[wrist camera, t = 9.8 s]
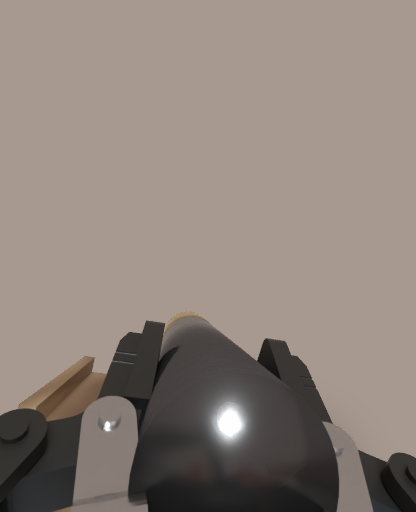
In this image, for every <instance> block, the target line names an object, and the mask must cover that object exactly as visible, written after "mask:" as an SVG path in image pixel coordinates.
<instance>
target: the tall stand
mask: <svg viewBox="0 0 416 512" xmlns="http://www.w3.org/2000/svg"><path fill="white" fill-rule="evenodd" d="M93 363H94V357H88V356H85V357H83V358H82V359H80V360H79V361H78V362H76V363H75V364H74V365H72V366H71V367H70V368H68V369H67V370H66V371H64V372H63V373H61V374H60V375H59V376H57V377H56V378H55V379H53V380H52V381H50V382H49V383H48V384H46V385H45V386H44V387H42V388H41V389H40V390H38V391H37V392H35V393H34V394H33V395H31V396H30V397H29V398H27V399H26V400H25V401H23V402H22V403H20V404H19V407H18V409H23V408H29V409H34V410H37V411H39V412H41V413H42V414H43V415H44V416H45V418H46V421H52V420H57V419H63V418H68V417H72V416H75V415H78V414H80V413H82V412H84V411H85V410H86V409H87V407H88V406H89V405H90V404H92V403H93V402H94V401H96V399H97V398H98V396H99V393H100V390H101V388H102V385H103V383H104V380H105V378H106V375H107V374H102V373H94V372H92V368H93ZM53 512H71V507H67V508H64V509H60V510H57V511H53Z"/></svg>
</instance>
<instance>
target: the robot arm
mask: <svg viewBox="0 0 416 512" xmlns="http://www.w3.org/2000/svg"><path fill="white" fill-rule="evenodd" d="M164 327H165V323H160V322H153V321H146V323H145V326H144V330H143V333H142V334H140V333H133V332H129V333H128V334H127V335H126V336H124V337H123V338H122V339H121V340H120V342H119V345H118V347H117V350H116V353H115V355H114V357H113V361H112V363H111V365H110V368H109V370H108V373H107V375H106V378H105V380H104V383H103V385H102V388H101V390H100V393H99V396H98V398H97V399H96V401H94V402H93V403H92V404H90V405H89V406H88V407H87V409H86V410H85V411H84V412H82V413H80V414H78V415H75V416H72V417H68V418H63V419H57V420H52V421H46V418H45V416H44V415H43V414H42V413H41V412H39V411H37V410H34V409H29V408H23V409H16V410H12V411H10V412H7V413H5V414H3V415H1V416H0V512H53V511H57V510H60V509H64V508H67V507H71V512H148V505H147V497H146V493H145V491H140V492H133V493H128V486H129V477H130V472H131V467H132V463H133V459H134V455H135V451H136V447H137V443H138V439H139V435H140V430H141V426H142V422H143V418H144V414H145V410H146V407H147V405H148V402H149V400H150V398H151V394H152V390H153V385H154V381H155V377H156V372H157V368H158V363H159V358H160V351H161V345H162V339H163V333H164ZM257 362H258V363H260V364H261V365H262V366H263V367H265V368H266V369H267V370H268V371H270V372H271V373H272V374H274V375H275V376H276V377H277V378H279V379H280V380H281V381H282V382H284V383H285V384H286V385H287V386H289V387H290V388H291V389H292V390H294V391H295V392H296V393H297V394H299V395H300V396H301V397H302V398H303V399H304V400H305V401H306V402H307V403H308V404H309V405H310V406H311V407H312V408H313V410H314V411H315V412H316V413H317V415H318V416H319V418H320V419H321V421H322V422H323V424H324V426H325V428H326V430H327V432H328V434H329V436H330V438H331V441H332V444H333V447H334V450H335V454H336V459H337V463H338V471H339V499H338V506H337V512H416V458H415V457H413V456H411V455H408V454H405V453H395V454H393V455H392V456H391V457H390V458H389V460H388V462H385V461H383V460H380V459H378V458H376V457H373V456H370V455H368V454H366V453H364V452H362V451H359V450H358V449H357V447H356V445H355V443H354V441H353V440H352V439H351V437H350V436H349V435H348V434H347V433H346V432H345V431H343V430H342V429H341V428H339V427H338V426H336V425H334V424H333V423H332V421H331V419H330V417H329V414H328V412H327V410H326V408H325V406H324V404H323V401H322V399H321V397H320V395H319V393H318V391H317V389H316V386H315V384H314V382H313V380H312V377H311V375H310V373H309V371H308V369H307V366H306V365H305V364H304V363H303V362H302V361H301V360H300V359H299V358H298V357H297V356H292V355H291V354H290V351H289V349H288V346H287V344H286V342H285V341H281V340H274V339H267V338H266V339H265V340H264V342H263V344H262V348H261V351H260V354H259V357H258V360H257ZM321 512H332V511H330V510H327V509H324V508H322V509H321Z"/></svg>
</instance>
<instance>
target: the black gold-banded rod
mask: <svg viewBox="0 0 416 512" xmlns="http://www.w3.org/2000/svg"><path fill="white" fill-rule="evenodd" d="M140 491H145V493H146V497H147V505H148V512H321V509H322V508H324V509H327V510H330V511H332V512H337V506H338V499H339V471H338V463H337V459H336V454H335V450H334V447H333V444H332V441H331V438H330V436H329V434H328V432H327V430H326V428H325V426H324V424H323V422H322V421H321V419H320V418H319V416H318V415H317V413H316V412H315V411H314V410H313V408H312V407H311V406H310V405H309V404H308V403H307V402H306V401H305V400H304V399H303V398H302V397H301V396H300V395H299V394H297V393H296V392H295V391H294V390H292V389H291V388H290V387H289V386H287V385H286V384H285V383H284V382H282V381H281V380H280V379H279V378H277V377H276V376H275V375H274V374H272V373H271V372H270V371H268V370H267V369H266V368H265V367H263V366H262V365H261V364H260V363H258V362H257V361H256V360H255V359H253V358H252V357H251V356H250V355H248V354H247V353H246V352H245V351H243V350H242V349H241V348H240V347H238V346H237V345H236V344H235V343H233V342H232V341H231V340H230V339H228V338H227V337H226V336H225V335H223V334H222V333H221V332H220V331H218V330H217V329H216V328H215V327H213V326H212V325H211V324H210V323H209V322H208V321H206V320H205V319H204V318H203V317H201V316H200V315H198V314H196V313H193V312H182V313H179V314H177V315H175V316H174V317H173V318H171V320H170V321H169V322H168V324H167V326H166V328H165V332H164V336H163V340H162V346H161V351H160V358H159V363H158V368H157V372H156V377H155V381H154V385H153V390H152V394H151V398H150V400H149V402H148V405H147V407H146V410H145V414H144V418H143V422H142V426H141V430H140V435H139V439H138V443H137V447H136V451H135V455H134V459H133V463H132V467H131V472H130V477H129V486H128V493H133V492H140Z"/></svg>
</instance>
